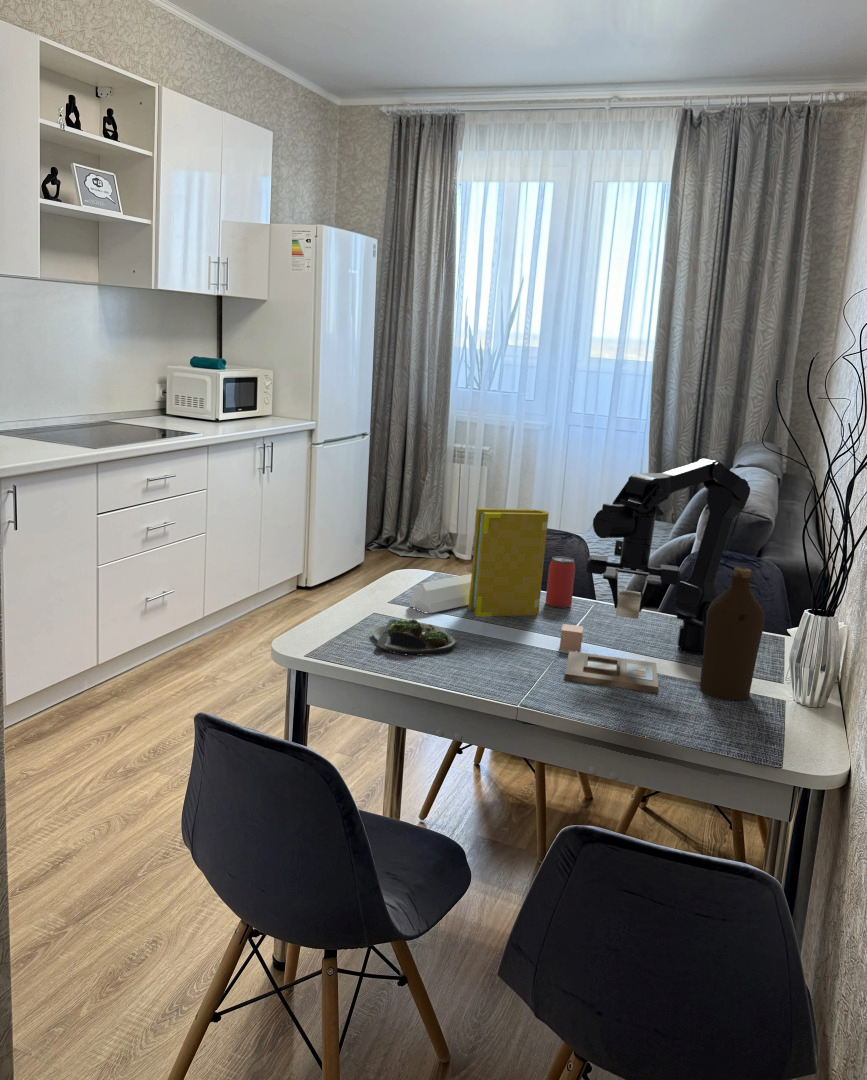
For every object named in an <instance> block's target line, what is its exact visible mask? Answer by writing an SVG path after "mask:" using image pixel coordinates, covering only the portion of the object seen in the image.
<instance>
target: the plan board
mask: <svg viewBox="0 0 867 1080" xmlns="http://www.w3.org/2000/svg"><path fill="white" fill-rule="evenodd" d="M563 680H565V681H573V682H579V683H585V684H594V685H599V686H608V687H613V686H614V687H613V688H620V687H621V689H628V690H633V691H634V690H636V691H642V692H651V693H657V694H658V693H659V679H658V667H657V662H653V661H646V660H638V659H633V658H632V659H630V658H623V657H616V656H609V655H604V654H603V655H602V654H594V653H589V652H581V651H580V652H575V651H568V656H567V661H566V666H565V672H564V679H563Z"/></svg>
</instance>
